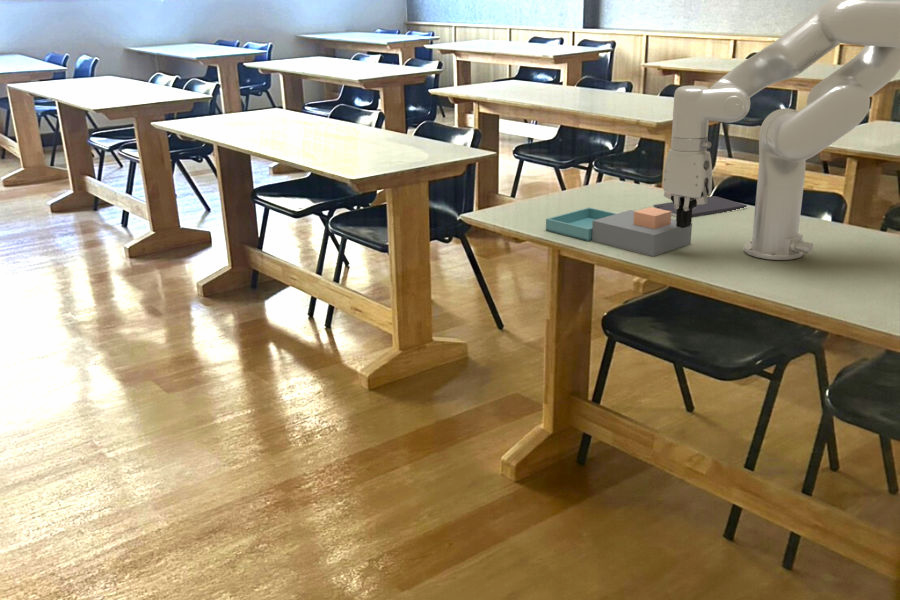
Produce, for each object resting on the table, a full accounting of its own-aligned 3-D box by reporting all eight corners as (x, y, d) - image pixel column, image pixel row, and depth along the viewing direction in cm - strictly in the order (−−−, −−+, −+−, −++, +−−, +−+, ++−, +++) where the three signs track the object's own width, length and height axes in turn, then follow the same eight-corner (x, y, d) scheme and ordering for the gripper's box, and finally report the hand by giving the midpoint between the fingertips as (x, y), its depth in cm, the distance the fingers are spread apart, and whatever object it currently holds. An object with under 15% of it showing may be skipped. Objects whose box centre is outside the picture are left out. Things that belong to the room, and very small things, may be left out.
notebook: (681, 221, 223) (746, 210, 231) (681, 215, 223) (746, 205, 231) (651, 210, 234) (714, 201, 242) (651, 205, 234) (715, 195, 242)
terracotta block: (670, 224, 200) (671, 211, 199) (654, 229, 197) (655, 216, 196) (649, 219, 205) (650, 207, 204) (633, 224, 201) (634, 211, 200)
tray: (631, 228, 216) (631, 216, 215) (588, 241, 207) (588, 229, 206) (588, 218, 226) (589, 207, 225) (545, 230, 217) (546, 218, 216)
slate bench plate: (690, 243, 202) (692, 223, 201) (653, 256, 194) (654, 235, 192) (629, 229, 215) (630, 209, 214) (592, 240, 207) (592, 220, 205)
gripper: (729, 146, 185) (722, 229, 191) (671, 138, 195) (666, 217, 202) (708, 151, 180) (701, 236, 186) (650, 142, 191) (645, 223, 197)
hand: (683, 226), depth 194 cm, fingers closed
